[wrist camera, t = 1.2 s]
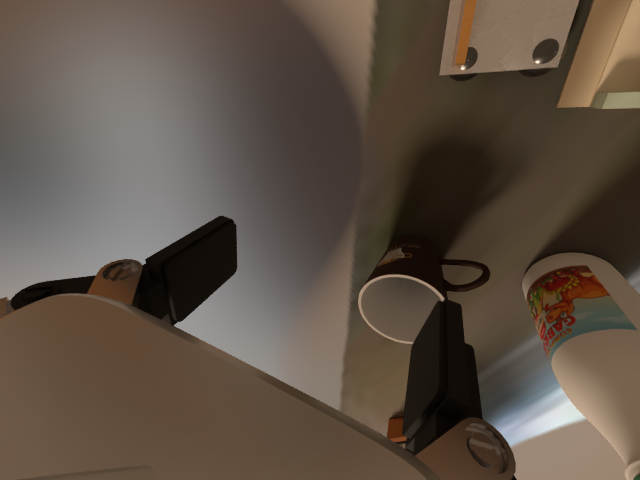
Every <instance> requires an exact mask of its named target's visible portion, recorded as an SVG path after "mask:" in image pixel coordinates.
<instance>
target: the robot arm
mask: <svg viewBox="0 0 640 480" xmlns="http://www.w3.org/2000/svg"><path fill="white" fill-rule="evenodd" d="M236 238H237V237H236V224H234V221H233V220H232V219H230V218H227V217H224V216H219V217H217V218H215V219H214V220H212V221H210V222H208V223H207V224H205V225H203V226H202V227H200V228H198V229H197V230H195V231H193V232H191V233H190V234H188V235H186V236H185V237H183V238H181V239H179V240H178V241H176V242H174V243H172V244H171V245H169V246H167V247H166V248H164V249H162V250H160V251H159V252H157V253H155V254H154V255H152V256H150V257H149V258H147V259H145V260H146V264H144V265H143V266H142V264H141V263H140V262H138V261H136V260H132V259H123V260H118V261H114V262H111V263H109V264H107V265H105V266H104V267H102V268H101V269H100V270H99V272H98V273H97V275H96V276H87V277H79V278H71V279H63V280H55V281H46V282H42V283H37V284H34V285H31V286H29V287H27V288H25V289H22V290H21V291H20V292H18V293H17V294H16V295H15V296H14V297H13V298H12V299H11V300H9V299H8V298H7V297H5V298H2V299H0V480H517V479H516V478H515V476H514V473H515V466H516V465H515V464H516V463H515V459H514V455H513V452H512V450H511V448H510V446H509V444H508V443H507V441H506V440H505V439H504V437H503V436H502V434H501V433H500V432H499V431H498V430H496V429H495V428H494V427H493V426H492V425H490V424H489V423H487V422H486V421H484V420H483V418H482V410H481V402H480V394H479V386H478V378H477V370H476V362H475V354H474V349H473V347H472V346H471V345H469V344H466V343H465V341H464V330H463V319H462V308H461V305H460V304H458V303H456V302H453V301H450V300H448V299H444V300H443V302H442V301H440V300H438V301H437V303H436V304H435V306H434V308H433V309H432V311H431V313H430V315H429V316H428V318H427V320H426V322H425V323H424V325H423V327H422V328H421V330H420V332H419V334H418V335H417V337H416V339H415V341H414V342H413V345H412V349H411V356H410V365H409V374H408V382H407V391H406V400H405V409H404V417H403V426H402V435H403V436H405V437H407V438H406V448H407V449H409V450H411V451H412V452H413V454H411V453H410V452H408V451H407V450H405V449H404V448H403V447H401V446H400V445H398V444H397V443H395V442H393V441H392V440H390V439H388V438H387V437H385V436H383V435H382V434H380V433H378V432H377V431H375V430H373V429H371V428H369V427H367V426H366V425H364V424H362V423H360V422H358V421H356V420H355V419H353V418H351V417H349V416H347V415H345V414H343V413H342V412H340V411H338V410H336V409H334V408H332V407H330V406H328V405H327V404H325V403H323V402H321V401H319V400H317V399H315V398H313V397H311V396H309V395H307V394H305V393H303V392H302V391H299V390H298V389H296V388H294V387H292V386H290V385H288V384H286V383H284V382H282V381H280V380H278V379H276V378H275V377H273V376H271V375H269V374H267V373H265V372H263V371H261V370H259V369H257V368H255V367H253V366H251V365H249V364H247V363H245V362H243V361H241V360H239V359H238V358H236V357H234V356H232V355H230V354H228V353H226V352H224V351H222V350H220V349H218V348H216V347H214V346H212V345H210V344H208V343H206V342H204V341H202V340H200V339H198V338H196V337H194V336H192V335H191V334H188V333H187V332H184V331H183V330H181V329H179V328H176V327H174V324H176V323H177V322H180V321H183V320H184V319H185V318H186V317H187V316H188V315H189V314H190V313H192V312H193V311H194V310H195V309H196V308H197V307H198V306H199V305H200V304H202V303H203V302H204V301H205V300H206V299H207V298H208V297H209V296H210V295H211V294H213V292H215V291H216V290H217V289H218V288H219V287H220V286H221V285H222V284H223V283H225V282H226V281H227V280H228V279H229V278H230V277H231V276H233V275H234V274H235V272H236V270H237V239H236Z"/></svg>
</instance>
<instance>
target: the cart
mask: <svg viewBox="0 0 640 480" xmlns="http://www.w3.org/2000/svg"><path fill="white" fill-rule="evenodd" d="M578 3H579V0H450V5H449V12H448V19H447V26H446V33H445V40H444V47H443V54H442V61H441V68H440V76H447V75H449V76H450V77H451V78H452V79H454V80H456V81H466V80H469V79H471V78H473V77H474V76H476V75H477V74H478V73H487V72H501V71H515V70H518V71H519V72H520V73H521V74H523V75H525V76H529V77H536V76H540V75H543V74H545V73H547V72H549V71H551V70H552V69H553V68H555V67H558V64H559V63H560V61H561V60H562V59H563V57H564V55H565V53H566V51H567V46H568V40H567V36H568V33H569V30H570V27H571V24H572V21H573V18H574V15H575V12H576V9H577V6H578Z"/></svg>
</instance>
